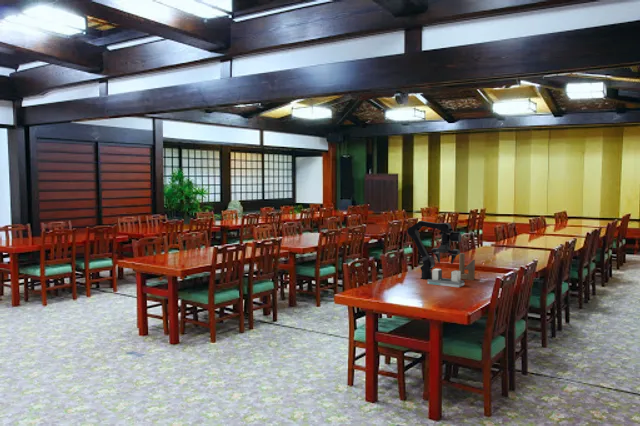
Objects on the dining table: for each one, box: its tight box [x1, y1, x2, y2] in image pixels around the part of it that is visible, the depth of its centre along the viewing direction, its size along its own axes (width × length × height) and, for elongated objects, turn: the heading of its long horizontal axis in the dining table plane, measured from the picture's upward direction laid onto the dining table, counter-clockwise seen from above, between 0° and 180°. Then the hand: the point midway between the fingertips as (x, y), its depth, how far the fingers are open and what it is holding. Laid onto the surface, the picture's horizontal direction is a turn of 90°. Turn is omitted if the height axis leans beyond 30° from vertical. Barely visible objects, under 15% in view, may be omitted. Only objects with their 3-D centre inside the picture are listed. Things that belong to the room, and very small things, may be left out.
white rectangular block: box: [431, 268, 443, 280], centre depth 354 cm, size 6×4×8 cm
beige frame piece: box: [458, 252, 476, 281], centre depth 369 cm, size 4×11×18 cm, turn 53°
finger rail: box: [426, 270, 465, 288], centre depth 351 cm, size 22×10×10 cm, turn 55°
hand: (445, 263), depth 363 cm, fingers open, 9 cm apart
